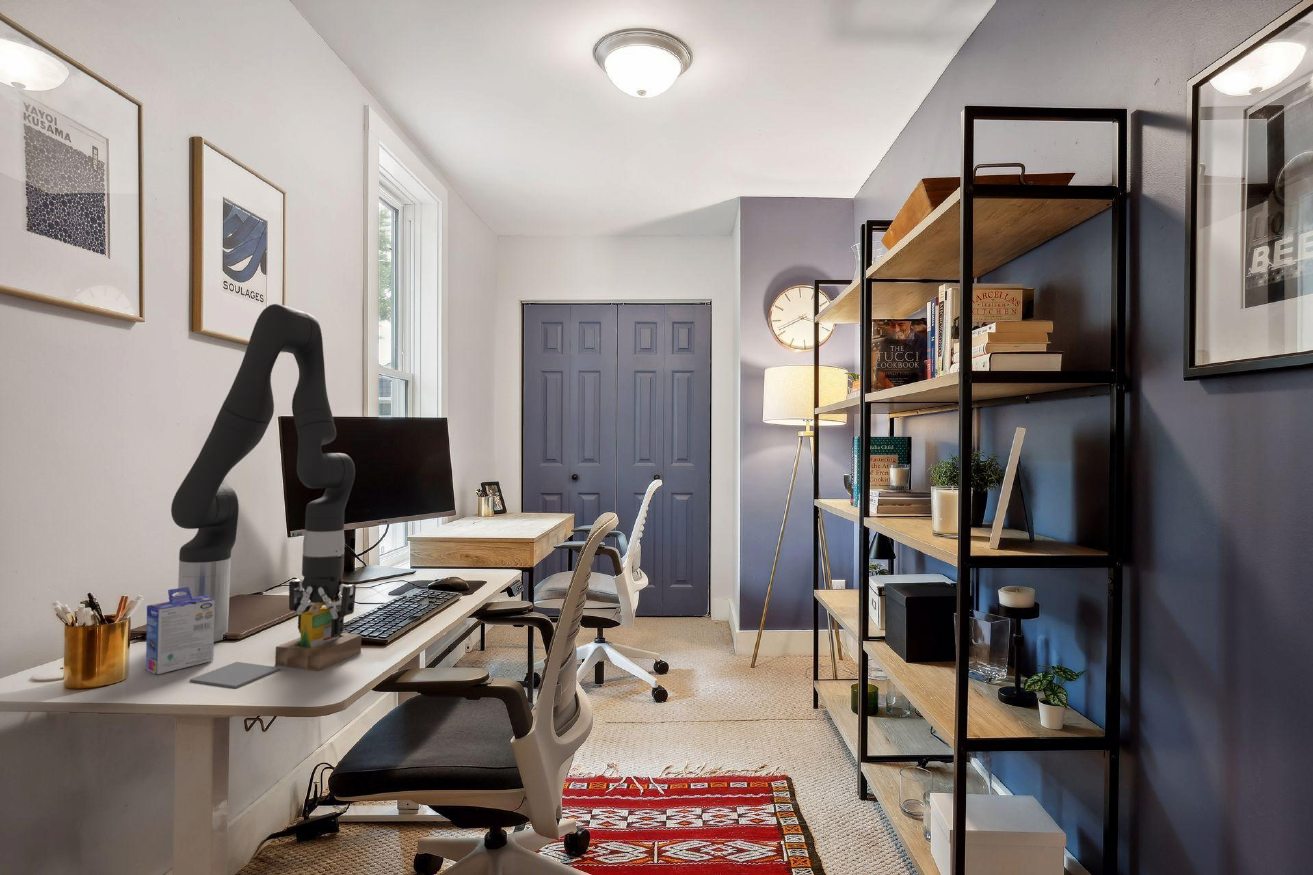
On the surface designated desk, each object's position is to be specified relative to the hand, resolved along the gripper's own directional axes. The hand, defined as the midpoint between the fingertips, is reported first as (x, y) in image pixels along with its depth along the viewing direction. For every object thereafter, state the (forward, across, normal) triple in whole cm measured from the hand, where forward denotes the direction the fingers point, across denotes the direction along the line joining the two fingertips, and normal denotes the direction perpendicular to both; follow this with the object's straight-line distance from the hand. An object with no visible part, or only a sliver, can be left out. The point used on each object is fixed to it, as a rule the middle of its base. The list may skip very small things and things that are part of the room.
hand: (320, 634), depth 134 cm
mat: (+5, -7, -13) cm, 16 cm away
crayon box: (+5, 0, 0) cm, 5 cm away
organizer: (+5, 0, 0) cm, 5 cm away
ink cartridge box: (+5, -21, -12) cm, 25 cm away
